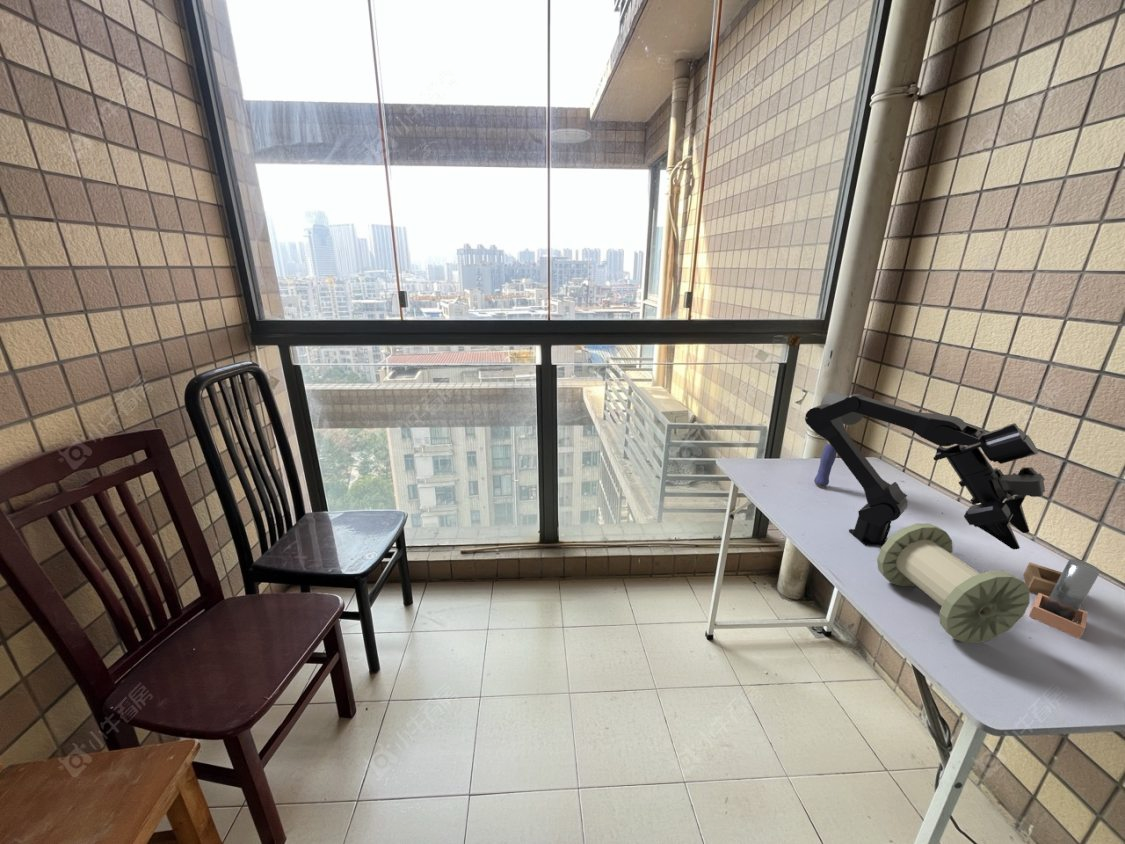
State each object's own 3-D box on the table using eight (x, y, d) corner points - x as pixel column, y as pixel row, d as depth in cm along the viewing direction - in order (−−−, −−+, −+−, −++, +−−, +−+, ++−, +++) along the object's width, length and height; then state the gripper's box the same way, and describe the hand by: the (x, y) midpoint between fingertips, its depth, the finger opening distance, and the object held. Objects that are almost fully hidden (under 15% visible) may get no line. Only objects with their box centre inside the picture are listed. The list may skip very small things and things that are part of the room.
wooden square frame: (1027, 591, 93) (1034, 578, 92) (1022, 574, 99) (1029, 562, 98) (1077, 608, 89) (1085, 595, 88) (1070, 590, 94) (1077, 577, 93)
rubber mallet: (842, 496, 131) (870, 402, 120) (816, 494, 131) (842, 401, 121) (823, 478, 142) (847, 391, 132) (799, 476, 143) (821, 389, 133)
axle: (1049, 623, 85) (1079, 570, 80) (1035, 609, 88) (1063, 557, 84) (1075, 629, 84) (1106, 575, 79) (1059, 614, 87) (1089, 561, 83)
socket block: (1028, 616, 86) (1033, 606, 86) (1033, 602, 90) (1038, 592, 90) (1079, 638, 81) (1085, 628, 81) (1082, 622, 85) (1087, 612, 85)
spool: (869, 581, 95) (889, 523, 89) (932, 580, 96) (955, 523, 91) (935, 643, 79) (964, 577, 74) (1009, 641, 80) (1043, 576, 75)
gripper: (1012, 471, 80) (1068, 551, 76) (1033, 446, 90) (1083, 516, 87) (944, 488, 89) (991, 560, 85) (969, 464, 99) (1012, 527, 96)
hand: (1021, 540), depth 88 cm, fingers open, 9 cm apart
